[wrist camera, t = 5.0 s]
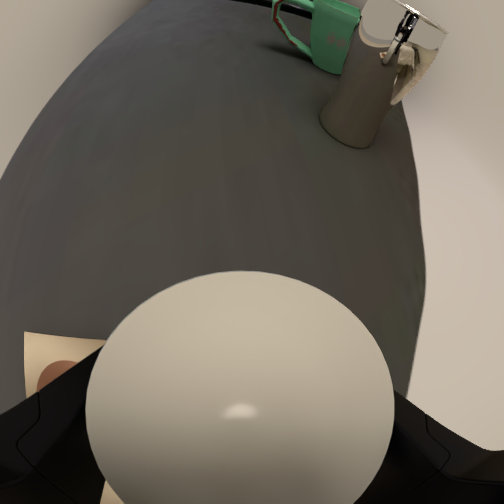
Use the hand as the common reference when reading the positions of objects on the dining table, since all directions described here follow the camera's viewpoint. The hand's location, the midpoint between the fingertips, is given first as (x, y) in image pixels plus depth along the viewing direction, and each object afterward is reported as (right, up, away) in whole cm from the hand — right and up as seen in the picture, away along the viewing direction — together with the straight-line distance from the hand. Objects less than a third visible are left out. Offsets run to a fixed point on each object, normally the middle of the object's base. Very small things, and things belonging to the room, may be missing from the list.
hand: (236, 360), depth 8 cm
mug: (+9, +30, +23) cm, 38 cm away
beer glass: (+10, +16, +17) cm, 25 cm away
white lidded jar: (-1, -4, +5) cm, 7 cm away
